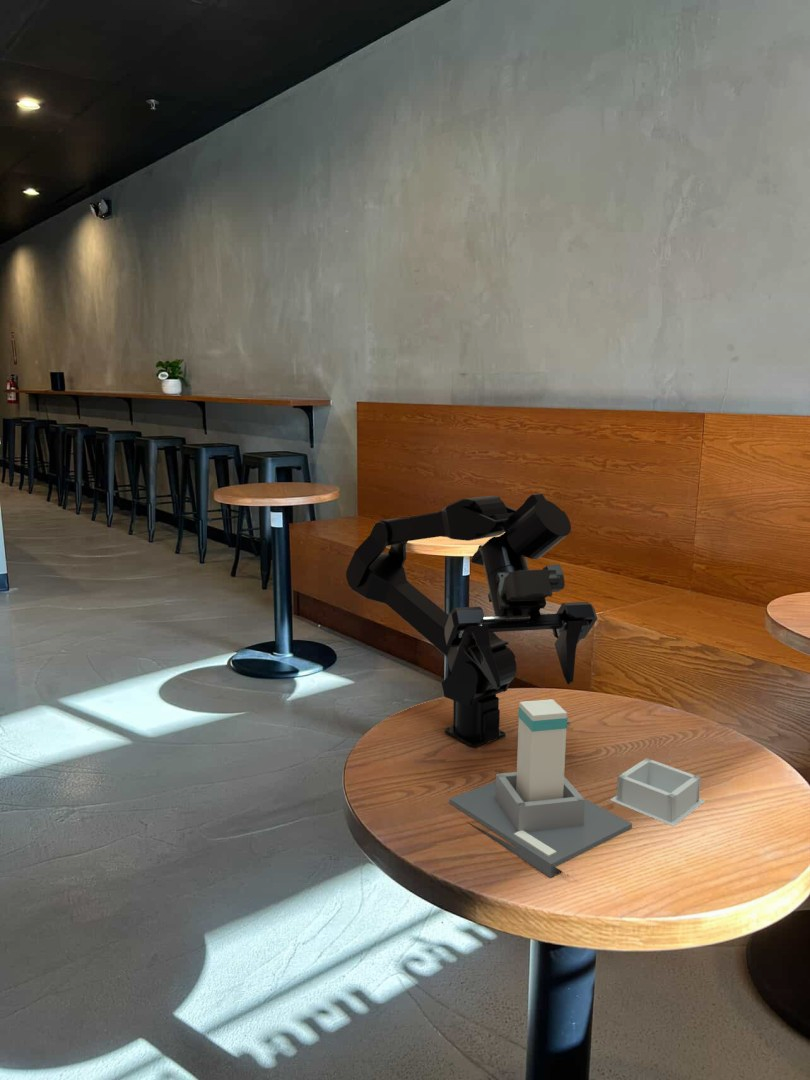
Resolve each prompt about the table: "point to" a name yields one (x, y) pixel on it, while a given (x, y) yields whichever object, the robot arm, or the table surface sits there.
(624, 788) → the holster
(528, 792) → the plug
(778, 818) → the table surface
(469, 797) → the port panel
